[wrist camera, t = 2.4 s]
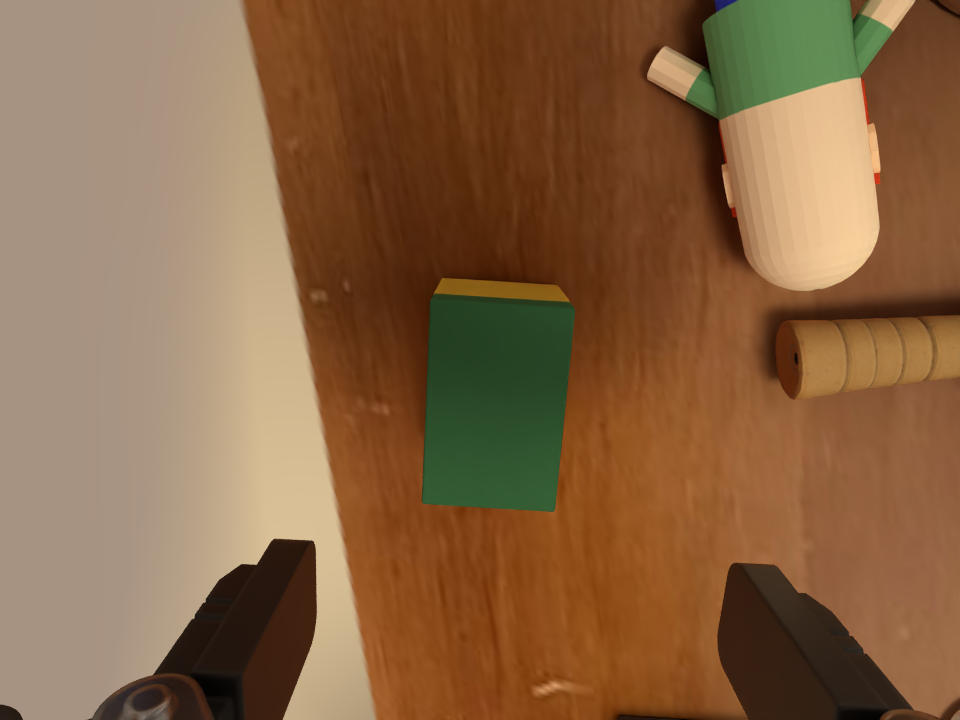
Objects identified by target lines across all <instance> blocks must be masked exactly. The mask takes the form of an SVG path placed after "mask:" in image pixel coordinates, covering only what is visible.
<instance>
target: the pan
mask: <svg viewBox="0 0 960 720" xmlns="http://www.w3.org/2000/svg"><path fill="white" fill-rule="evenodd" d="M618 720H680V719H664V718H647V717H630V716H618Z"/></svg>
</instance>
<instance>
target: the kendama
mask: <svg viewBox="0 0 960 720" xmlns="http://www.w3.org/2000/svg"><path fill="white" fill-rule="evenodd" d="M775 354H776V358H775V359H776V367H777V372H778V376H779V380H780V382H781V385H782V387H783V389H784V391H785V393H786V394H787V395H788V396H789V398H791V399H793V400H799V399H806V398H812V397H818V396H823V395H830V394H835V393H837V392H849V391H856V390H862V389H869V388H879V387H886V386H891V385H901V384H909V383H917V382H920V381H933V380H941V379H948V378H956V377H960V315H946V316H922V317H915V318H913V317H898V318H886V319H884V318H872V319H859V320H858V319H842V320H833V321H829V320H789V321H784V322H783V323H782V324H781V325H780V327H779V329H778V332H777V336H776V344H775Z"/></svg>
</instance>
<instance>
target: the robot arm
mask: <svg viewBox="0 0 960 720" xmlns="http://www.w3.org/2000/svg"><path fill="white" fill-rule="evenodd" d="M937 1H939V2H940V3H941V4H942V5H944V6H945V7H947V8H948V9H950V10H951V11H953V12H955V13H957V14H958V15H960V0H937ZM316 614H317V603H316V549H315V544H314V542H313V541H309V540H308V541H307V540H289V539H288V540H287V539H273V540H272V541H271V543H270V544H269V546H268V548H267V549H266V551H265V552H264V554H263V556H262V557H261V559H260V560H259V562H258V564H257V565H249V564H241V565H240V566H238V567H237V568H235V569H234V570H233V571H231V572H230V573H228V574H227V575H225V576H224V577H223V578H221V579H220V580H219V581H218V583H217V584H216V585H215V587H214V588H213V590H212V591H211V592H210V594H209V595H208V597H207V598H206V602H205V603H203V604H202V605H201V607H200V608H199V610H198V611H197V613H196V614H195V618H194V619H192V620H191V621H190V623H189V624H188V626H187V627H186V628H185V630H184V631H183V633H182V634H181V636H180V637H179V638H178V640H177V641H176V643H175V644H174V646H173V647H172V649H171V650H170V651H169V653H168V655H167V656H166V657H165V659H164V660H163V662H162V663H161V664H160V666H159V667H158V669H157V670H156V672H155V673H154V674H153V675H152V676H148V677H145V678H141V679H139V680H136V681H134V682H131V683H129V684H128V685H126V686H124V687H122V688H120V689H119V690H117V691H116V692H114V693H113V694H112V695H111V696H109V697H108V698H107V699H106V700H105V701H104V702H103V703H102V704H101V705H100V706H99V708H98V709H97V711H96V712H95V714H94V716H93V718H92V719H89V720H283V717H284V715H285V712H286V709H287V707H288V704H289V702H290V699H291V696H292V694H293V691H294V689H295V686H296V684H297V681H298V678H299V676H300V673H301V671H302V668H303V666H304V663H305V660H306V658H307V655H308V653H309V650H310V647H311V644H312V641H313V637H314V632H315V625H316ZM718 652H719V657H720V661H721V664H722V667H723V669H724V671H725V673H726V675H727V677H728V679H729V681H730V683H731V685H732V687H733V689H734V691H735V693H736V695H737V697H738V699H739V701H740V703H741V705H742V707H743V709H744V711H745V713H746V715H747V717H748V719H749V720H942V719H940V718H938V717H935V716H933V715H930V714H927V713H923V712H920V711H915V710H914V709H913V708H912V707H911V706H910V705H909V703H908V702H907V701H906V700H905V699H904V697H903V696H902V695H901V694H900V693H899V692H898V690H897V689H896V688H895V687H894V686H893V684H892V683H891V682H890V681H889V680H888V678H887V677H886V676H885V675H884V674H883V672H882V671H881V670H880V669H879V668H878V666H877V665H876V664H875V663H874V662H873V660H872V659H871V658H870V657H869V656H868V655H867V654H864V653H863V649H862V647H861V646H860V645H859V644H858V643H857V641H856V640H855V639H854V638H853V637H852V636H849V632H848V631H847V629H846V628H845V627H844V626H843V625H842V623H841V622H840V621H839V620H838V619H837V618H836V616H835V615H834V614H833V613H832V612H831V611H830V610H829V609H827V608H826V607H824V606H823V605H821V604H820V603H819V602H817V601H816V600H814V599H813V598H812V597H810V596H809V595H807V594H806V593H798V592H797V591H796V590H795V588H794V587H793V586H792V584H791V583H790V582H789V581H788V579H787V578H786V577H785V576H784V574H783V573H782V572H781V571H780V569H779V568H778V567H777V566H775V565H768V564H748V563H734V564H732V565H731V567H730V568H729V571H728V576H727V581H726V587H725V593H724V599H723V605H722V611H721V616H720V622H719V628H718ZM0 720H23V719H22V717H21V715H20V713H19V712H18V711H17V710H16V709H14V708H12V707H9V706H5V705H0Z"/></svg>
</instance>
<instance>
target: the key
mask: <svg viewBox="0 0 960 720" xmlns="http://www.w3.org/2000/svg"><path fill="white" fill-rule="evenodd" d="M951 720H960V710H959V711H957V712H956V713H955V714H954V716H953V717H952V718H951Z"/></svg>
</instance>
